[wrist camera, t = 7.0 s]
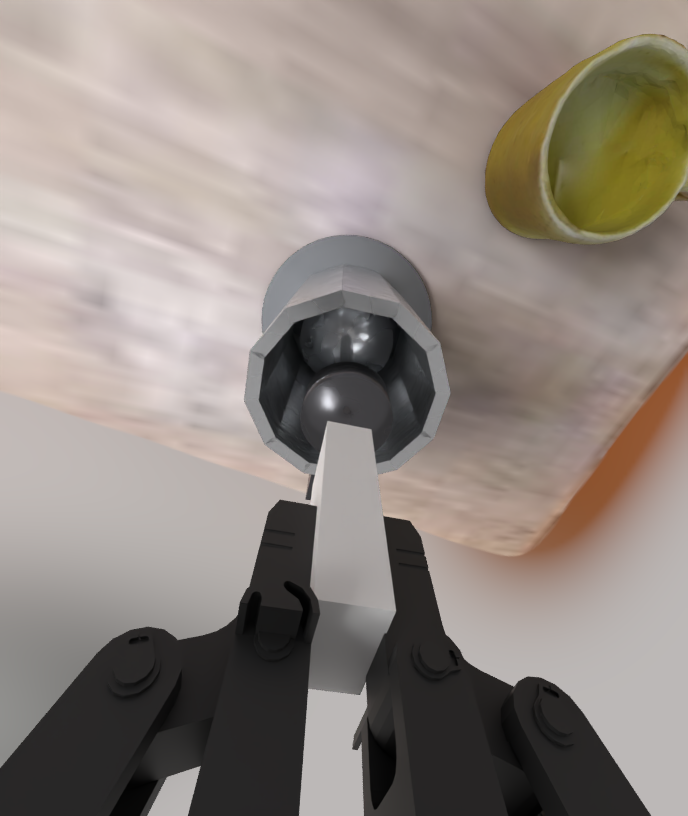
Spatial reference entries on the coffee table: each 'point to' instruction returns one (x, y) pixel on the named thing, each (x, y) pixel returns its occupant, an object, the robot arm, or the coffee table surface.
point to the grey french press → (402, 374)
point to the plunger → (346, 373)
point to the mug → (596, 147)
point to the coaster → (350, 253)
